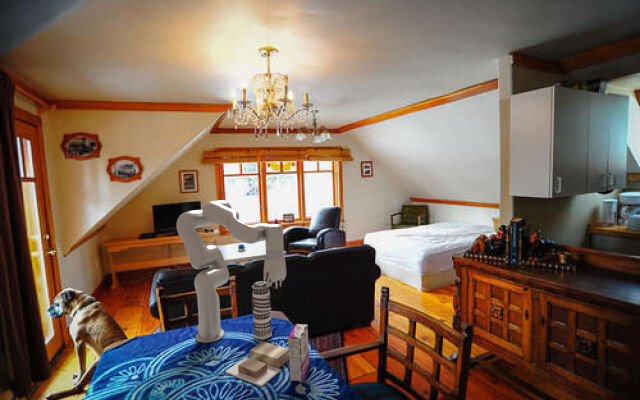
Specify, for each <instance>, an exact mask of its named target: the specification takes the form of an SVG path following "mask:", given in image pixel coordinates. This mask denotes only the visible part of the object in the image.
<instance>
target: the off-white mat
mask: <svg viewBox="0 0 640 400" xmlns="http://www.w3.org/2000/svg"><path fill="white" fill-rule="evenodd" d="M247 359H248V357H244V358H243V359H241V360H239V362H237V363H235V364H234V365H232V366H231V367H229V368H228V369H226V370H225V374H228V375H230V376H233V377H235V378H238V379H240V380H242V381H245V382H248V383H250V384H253V385H256V386H258V387H259V388H260V387H264V385H266V384H267V383H268V382H269V381H271V380H272V379H273V378H274V377H276V375H279V373H280V372H281V371H282V370H281V369H280V368H275V367H272V366H269V365H267V371H266V372H264V373H263V374H262V375H260V376H259V377H258V378H257V379H256V378H254V377H251V376H248V375H246V374H243V373H240V372H238V365H239V364H241V363H242V362H244V361H245V360H247Z"/></svg>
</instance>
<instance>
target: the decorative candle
mask: <svg viewBox="0 0 640 400" xmlns="http://www.w3.org/2000/svg"><path fill="white" fill-rule="evenodd" d="M251 288H252V295H250V298H251V306H252V308H251V309H252V313H253V325H252V326H253V337H254V338H255V339H257V340H266V339H268V338H270V337H272V335H273V334H272V333H273V330H272V329H273V326H272V318H271V317H272V316H271V311H272V308H271V307H272V301H271V300H272V293H270V286H267V282H265V281H264V280H260V281H256V282H254V283H253V285H252V286H251Z"/></svg>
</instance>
